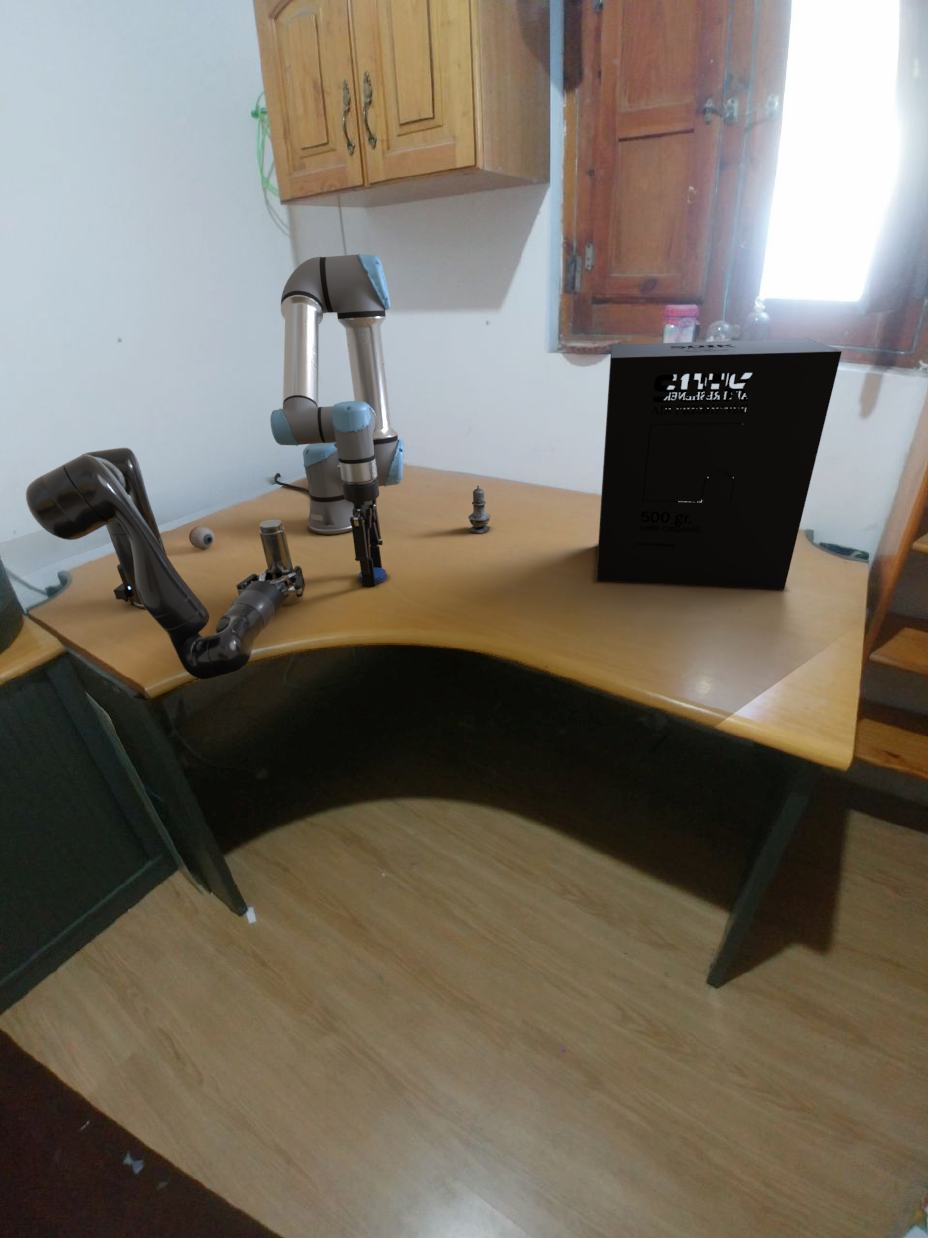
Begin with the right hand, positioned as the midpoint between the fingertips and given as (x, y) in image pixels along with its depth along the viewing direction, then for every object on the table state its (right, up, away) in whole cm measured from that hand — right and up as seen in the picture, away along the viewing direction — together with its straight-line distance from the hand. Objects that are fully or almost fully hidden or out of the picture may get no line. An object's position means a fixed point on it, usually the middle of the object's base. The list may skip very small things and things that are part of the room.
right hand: (373, 578), depth 138 cm
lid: (0, +1, 0) cm, 1 cm away
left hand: (-18, +1, -8) cm, 19 cm away
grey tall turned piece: (+25, +15, +23) cm, 37 cm away
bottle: (-18, -5, -7) cm, 20 cm away
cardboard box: (+70, +3, -2) cm, 70 cm away
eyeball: (-48, +9, +21) cm, 53 cm away
